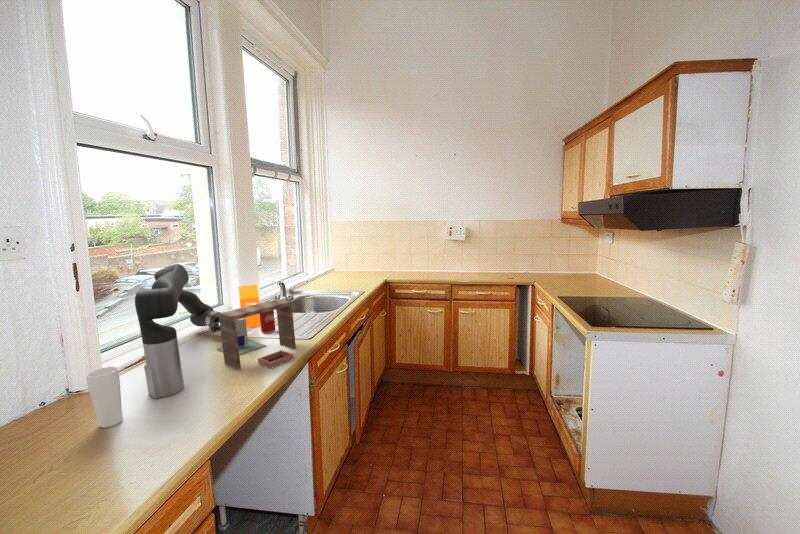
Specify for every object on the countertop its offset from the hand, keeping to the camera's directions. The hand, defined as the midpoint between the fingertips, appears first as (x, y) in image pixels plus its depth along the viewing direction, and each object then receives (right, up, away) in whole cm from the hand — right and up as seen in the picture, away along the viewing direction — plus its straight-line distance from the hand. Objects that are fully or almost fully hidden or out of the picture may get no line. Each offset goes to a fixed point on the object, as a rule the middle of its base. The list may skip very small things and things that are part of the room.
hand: (235, 326), depth 162 cm
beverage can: (+8, -6, +18) cm, 20 cm away
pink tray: (+23, -10, -18) cm, 30 cm away
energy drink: (+3, -8, -1) cm, 9 cm away
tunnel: (+15, -10, -11) cm, 21 cm away
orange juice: (-5, -4, +31) cm, 32 cm away
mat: (+3, -9, -1) cm, 9 cm away
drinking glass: (-10, -18, -56) cm, 60 cm away
